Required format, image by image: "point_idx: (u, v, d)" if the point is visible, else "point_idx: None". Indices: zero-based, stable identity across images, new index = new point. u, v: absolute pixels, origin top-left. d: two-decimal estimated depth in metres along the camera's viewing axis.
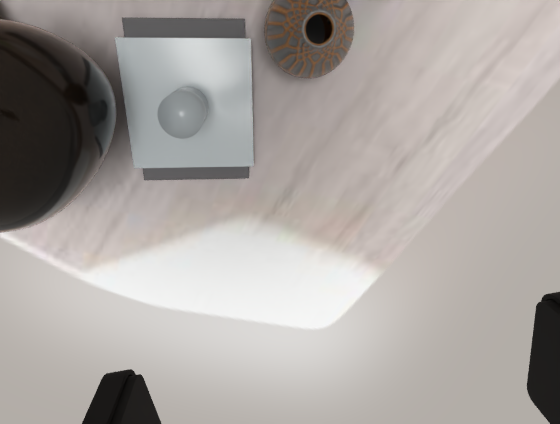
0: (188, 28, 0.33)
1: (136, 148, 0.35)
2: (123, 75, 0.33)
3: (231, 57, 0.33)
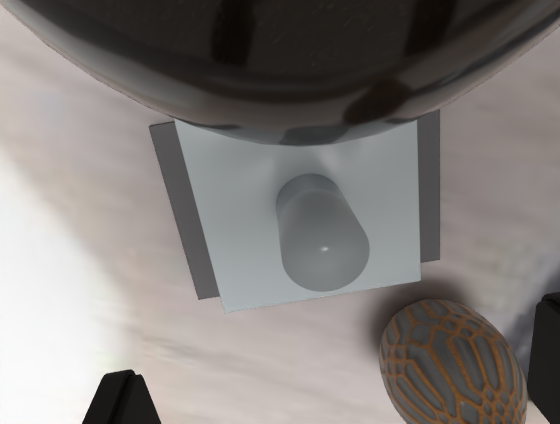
0: (425, 184, 0.21)
1: None
2: None
3: (393, 259, 0.21)
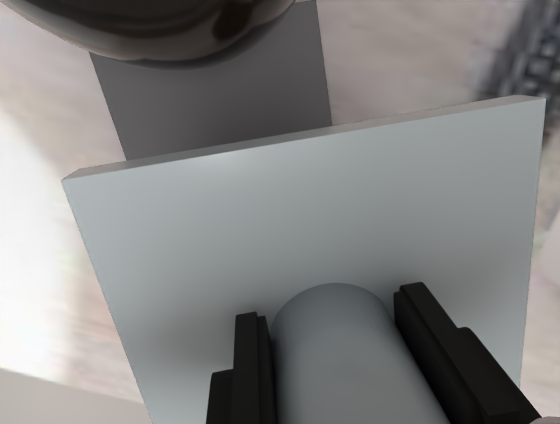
0: (316, 92, 0.26)
1: (150, 186, 0.09)
2: (419, 131, 0.09)
3: None
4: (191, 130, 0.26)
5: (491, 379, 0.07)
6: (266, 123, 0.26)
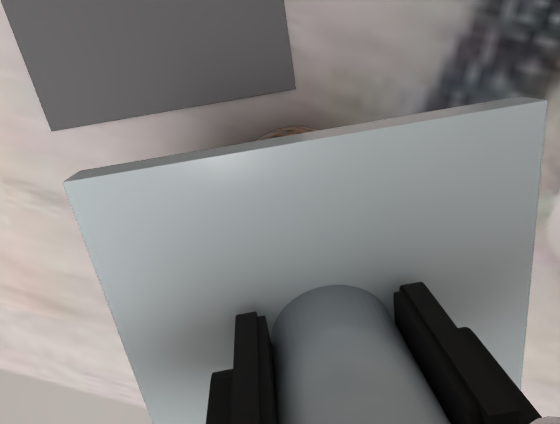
0: None
1: (151, 188, 0.09)
2: (420, 133, 0.09)
3: None
4: (111, 43, 0.21)
5: (491, 379, 0.07)
6: (205, 38, 0.21)
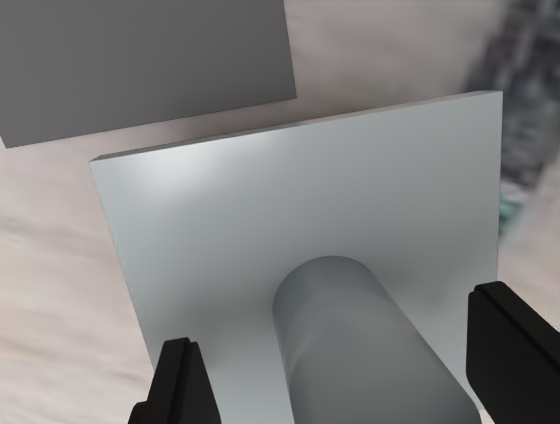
0: None
1: (168, 167, 0.10)
2: (400, 118, 0.10)
3: None
4: (74, 43, 0.17)
5: None
6: (188, 37, 0.17)
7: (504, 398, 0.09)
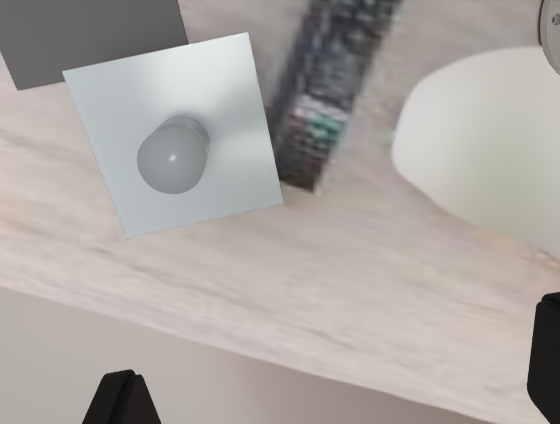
0: None
1: (96, 73, 0.23)
2: (200, 46, 0.23)
3: (257, 185, 0.26)
4: (56, 25, 0.30)
5: None
6: (122, 20, 0.30)
7: None
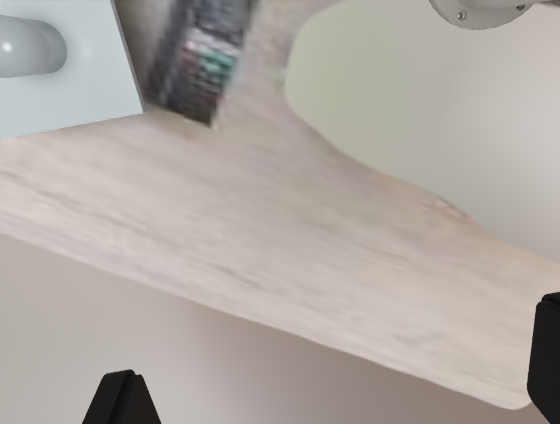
0: None
1: None
2: None
3: (116, 93, 0.29)
4: None
5: None
6: None
7: None
